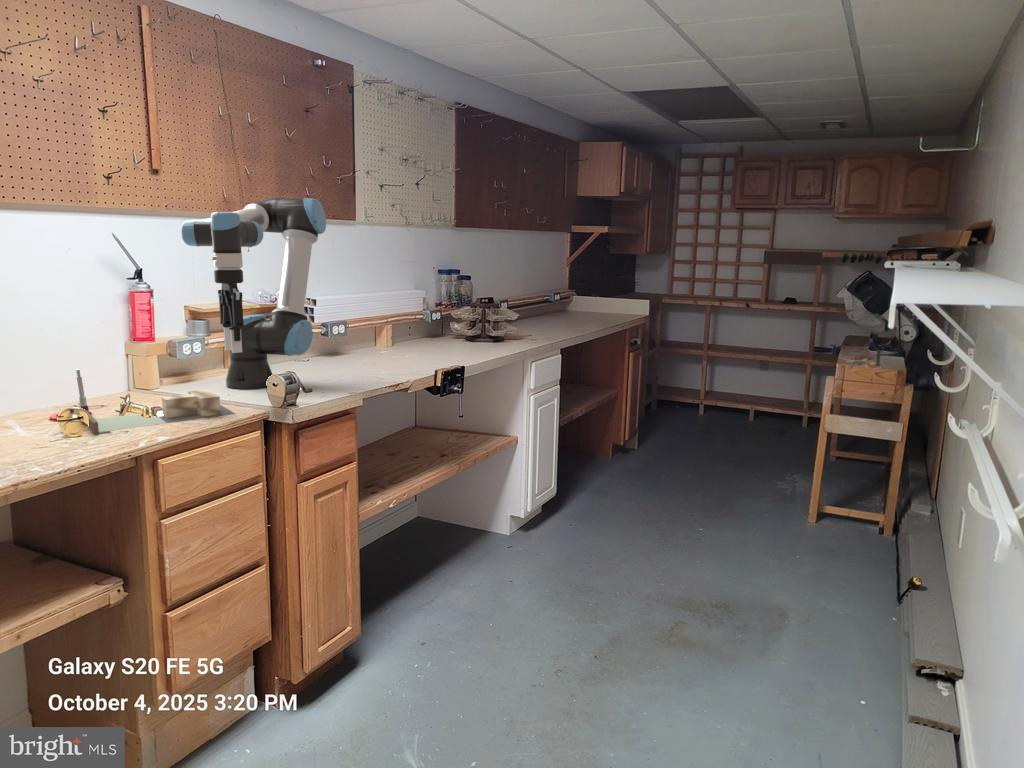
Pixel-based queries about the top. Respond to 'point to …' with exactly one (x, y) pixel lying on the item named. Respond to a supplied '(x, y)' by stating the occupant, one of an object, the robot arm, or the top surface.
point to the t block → (192, 404)
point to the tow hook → (82, 397)
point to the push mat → (140, 421)
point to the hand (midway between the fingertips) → (233, 350)
